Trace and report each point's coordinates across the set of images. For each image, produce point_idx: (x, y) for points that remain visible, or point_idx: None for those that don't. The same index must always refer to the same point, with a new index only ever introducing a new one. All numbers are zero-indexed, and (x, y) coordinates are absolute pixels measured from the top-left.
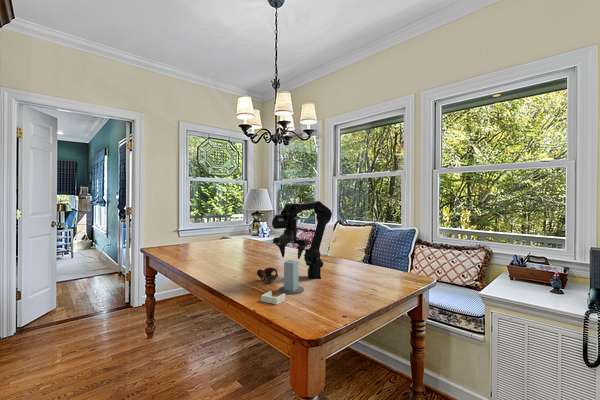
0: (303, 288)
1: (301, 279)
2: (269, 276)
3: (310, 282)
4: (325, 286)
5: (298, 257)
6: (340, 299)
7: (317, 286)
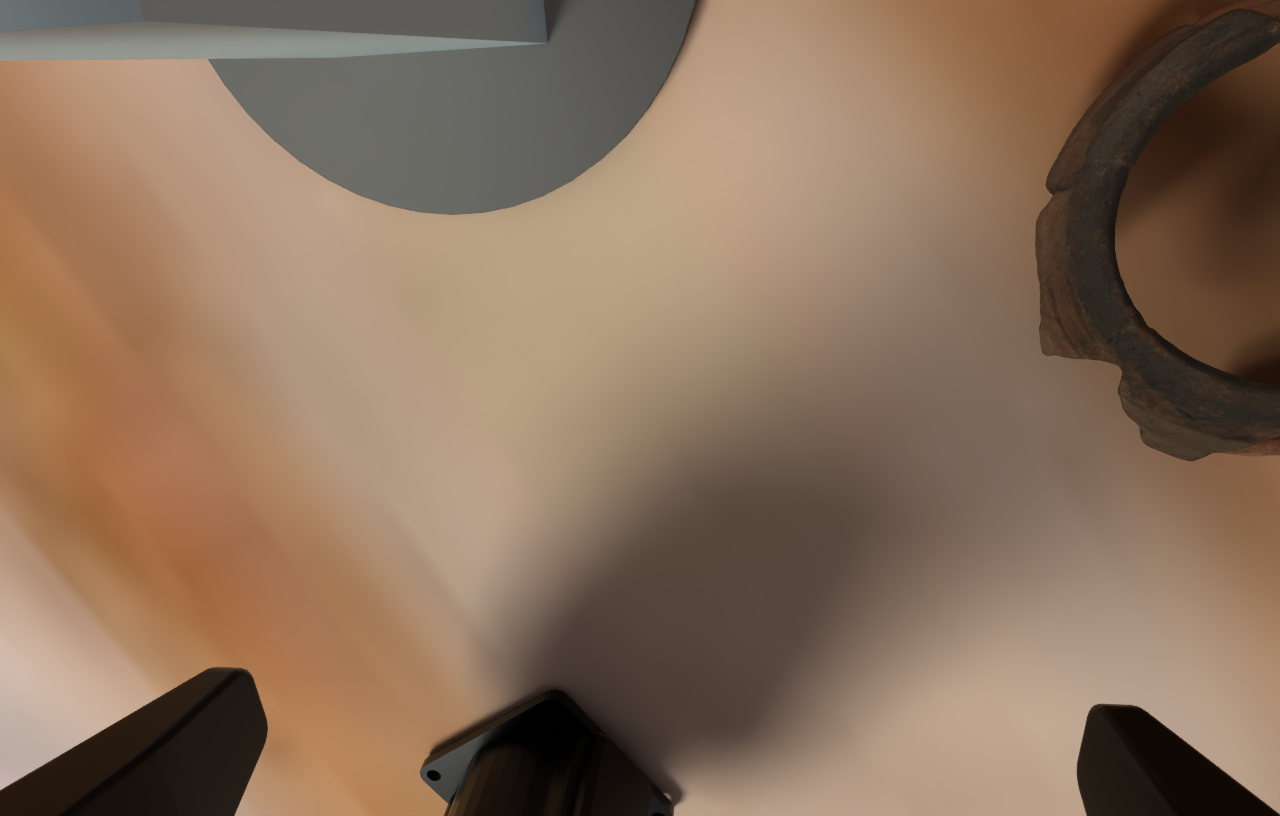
0: (256, 113)
1: (667, 619)
2: (1224, 37)
3: (442, 542)
4: (129, 468)
5: (153, 707)
6: None
7: (218, 410)
